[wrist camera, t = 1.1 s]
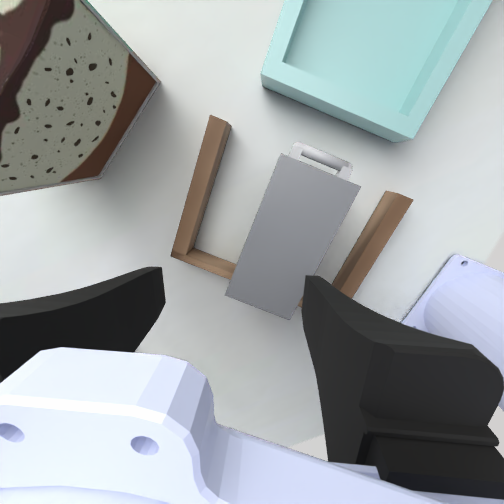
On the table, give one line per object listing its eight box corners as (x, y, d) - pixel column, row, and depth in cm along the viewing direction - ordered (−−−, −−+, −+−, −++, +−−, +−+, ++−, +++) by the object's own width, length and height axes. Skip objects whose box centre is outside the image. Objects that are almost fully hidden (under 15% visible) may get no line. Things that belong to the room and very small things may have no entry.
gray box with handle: (337, 167, 19) (371, 167, 12) (285, 274, 22) (289, 320, 15) (284, 145, 18) (289, 132, 12) (239, 256, 22) (224, 295, 15)
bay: (399, 196, 19) (413, 199, 17) (332, 308, 23) (337, 321, 21) (216, 120, 18) (210, 114, 16) (179, 248, 22) (170, 256, 20)
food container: (100, -9, 16) (-139, -250, 7) (172, 62, 17) (49, -62, 8) (30, 140, 20) (-187, 116, 11) (92, 191, 21) (-56, 211, 12)
